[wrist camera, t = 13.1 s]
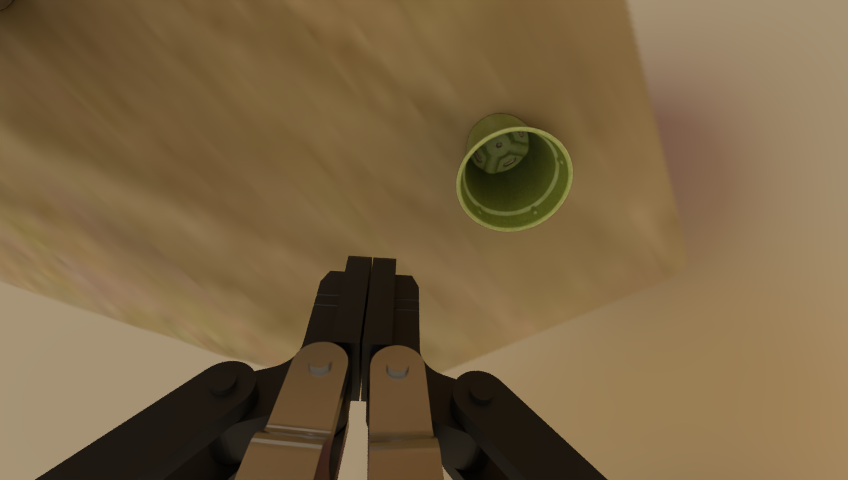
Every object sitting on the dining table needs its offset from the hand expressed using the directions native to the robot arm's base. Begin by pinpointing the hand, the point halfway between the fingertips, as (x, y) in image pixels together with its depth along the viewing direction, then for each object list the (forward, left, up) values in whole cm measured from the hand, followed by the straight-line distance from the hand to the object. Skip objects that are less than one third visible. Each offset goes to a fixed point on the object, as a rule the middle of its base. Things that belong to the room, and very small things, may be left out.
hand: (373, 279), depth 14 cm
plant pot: (+10, -6, -29) cm, 31 cm away
